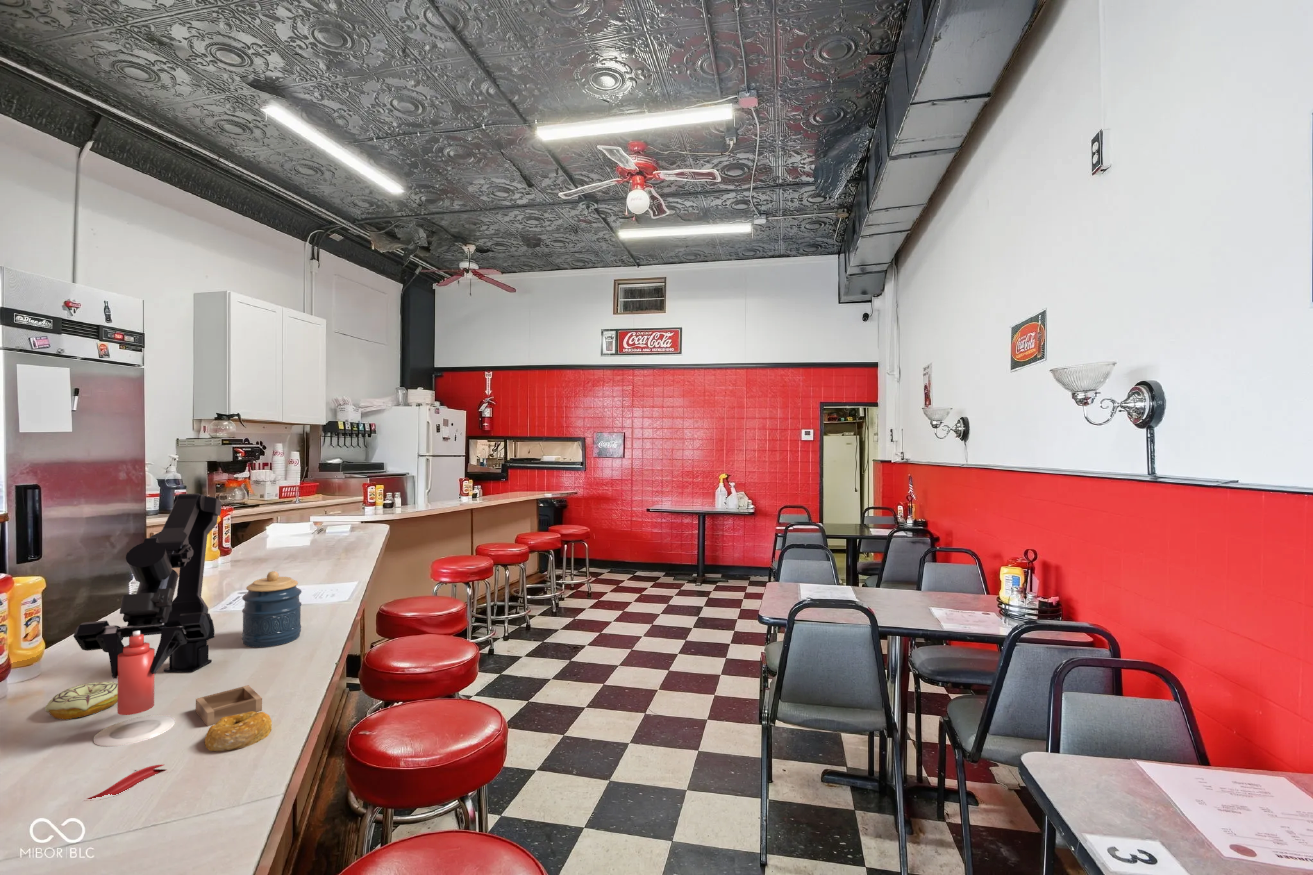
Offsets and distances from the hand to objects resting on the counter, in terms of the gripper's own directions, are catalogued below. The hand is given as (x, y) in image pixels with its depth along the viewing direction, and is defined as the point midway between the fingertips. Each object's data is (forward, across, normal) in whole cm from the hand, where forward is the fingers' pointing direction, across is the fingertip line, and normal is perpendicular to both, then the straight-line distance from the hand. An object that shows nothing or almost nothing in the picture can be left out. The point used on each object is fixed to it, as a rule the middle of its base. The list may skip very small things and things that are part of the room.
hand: (133, 675), depth 107 cm
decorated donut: (-4, -12, +20) cm, 24 cm away
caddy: (+5, +13, +10) cm, 18 cm away
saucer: (+7, 0, +8) cm, 11 cm away
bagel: (+14, +17, +2) cm, 22 cm away
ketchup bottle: (+4, 0, +6) cm, 7 cm away
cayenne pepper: (+21, +5, -4) cm, 22 cm away
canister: (-26, +14, +42) cm, 52 cm away
